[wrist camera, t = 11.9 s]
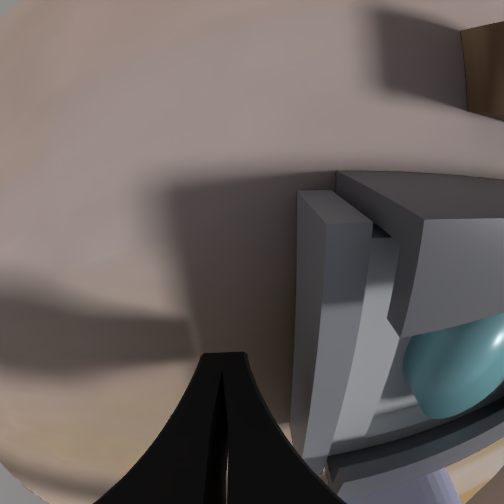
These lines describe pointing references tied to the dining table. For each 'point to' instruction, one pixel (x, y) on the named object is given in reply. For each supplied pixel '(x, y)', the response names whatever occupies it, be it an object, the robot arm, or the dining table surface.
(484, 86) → the brown rectangular block
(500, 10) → the dining table surface
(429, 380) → the teal rounded dome
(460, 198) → the grey drawer housing
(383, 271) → the tray
